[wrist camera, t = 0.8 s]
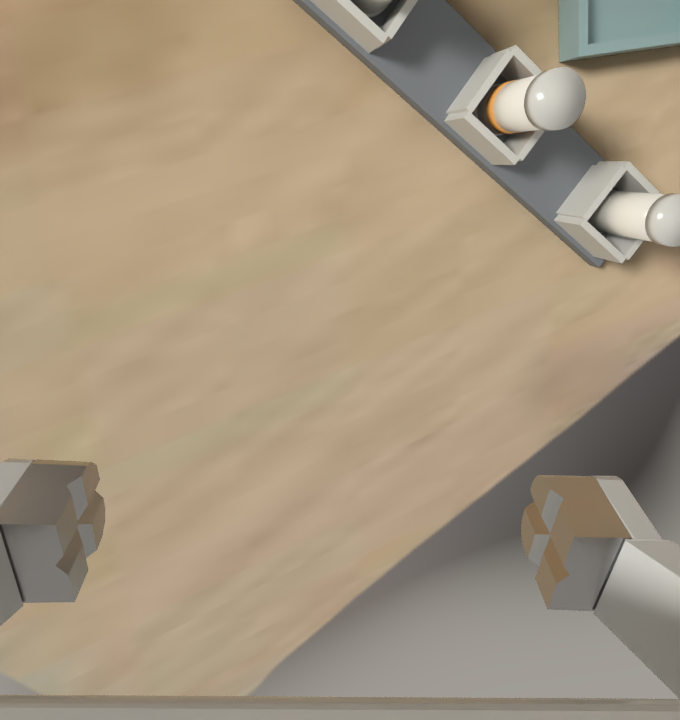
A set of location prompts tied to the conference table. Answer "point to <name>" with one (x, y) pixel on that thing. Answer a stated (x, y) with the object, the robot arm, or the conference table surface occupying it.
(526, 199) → the fuse holder
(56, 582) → the robot arm
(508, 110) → the marked fuse
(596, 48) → the tray
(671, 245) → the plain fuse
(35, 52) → the conference table surface
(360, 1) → the peg
